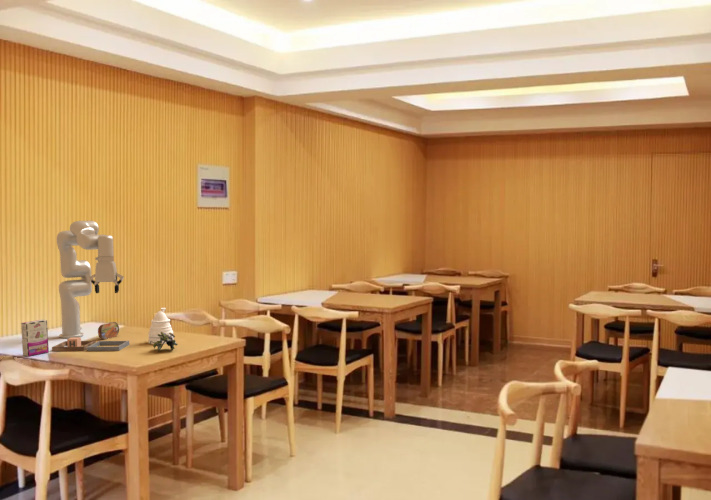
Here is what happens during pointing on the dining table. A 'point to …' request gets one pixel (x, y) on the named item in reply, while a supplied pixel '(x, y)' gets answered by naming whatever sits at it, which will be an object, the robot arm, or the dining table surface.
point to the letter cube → (74, 342)
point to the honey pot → (159, 326)
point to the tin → (108, 330)
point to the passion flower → (167, 339)
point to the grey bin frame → (112, 348)
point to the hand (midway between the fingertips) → (107, 292)
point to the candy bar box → (34, 337)
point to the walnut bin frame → (81, 348)
